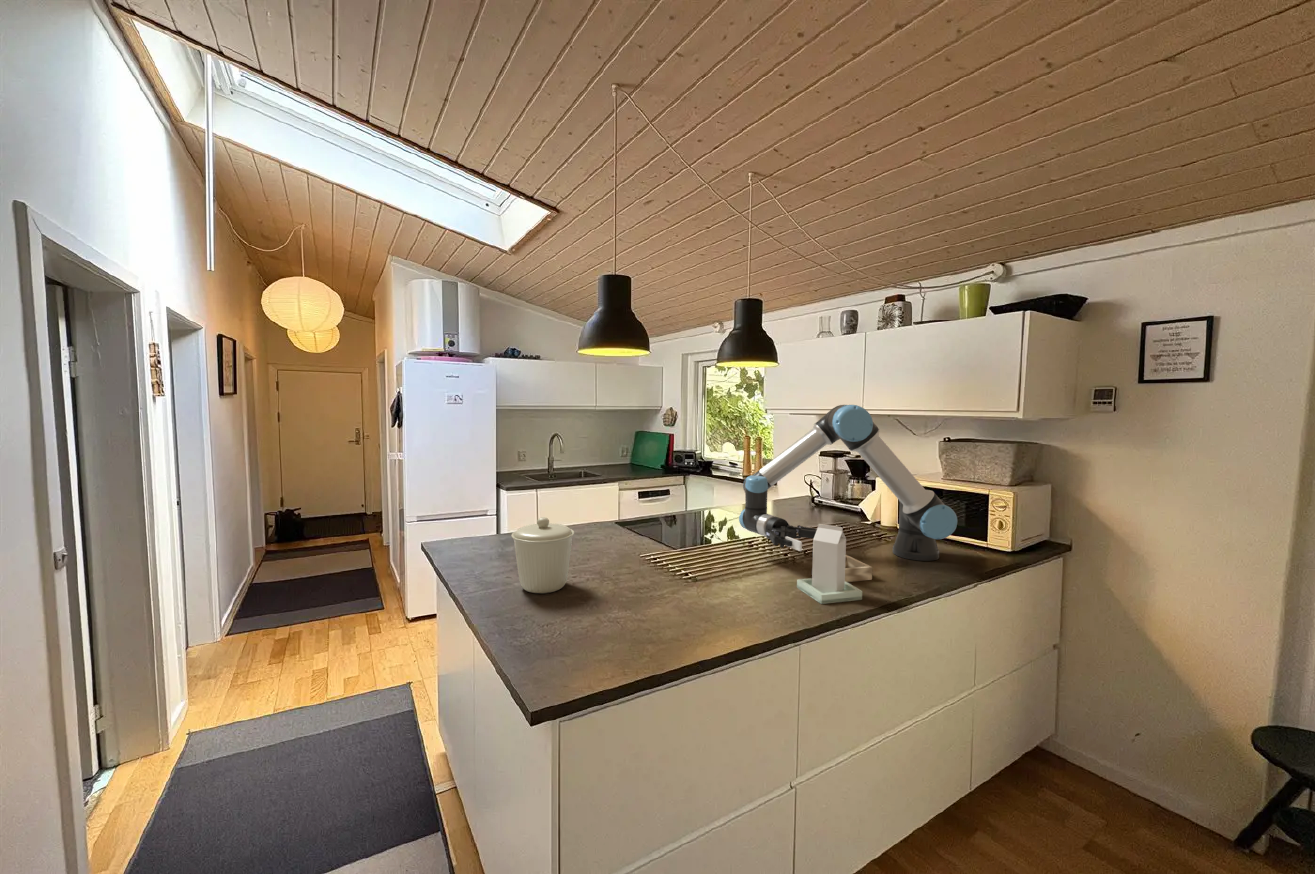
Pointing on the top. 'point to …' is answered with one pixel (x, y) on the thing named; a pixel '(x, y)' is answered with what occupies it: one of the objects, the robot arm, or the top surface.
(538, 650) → the top surface
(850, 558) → the holder
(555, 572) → the canister
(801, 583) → the tray
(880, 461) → the robot arm
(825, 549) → the milk carton
